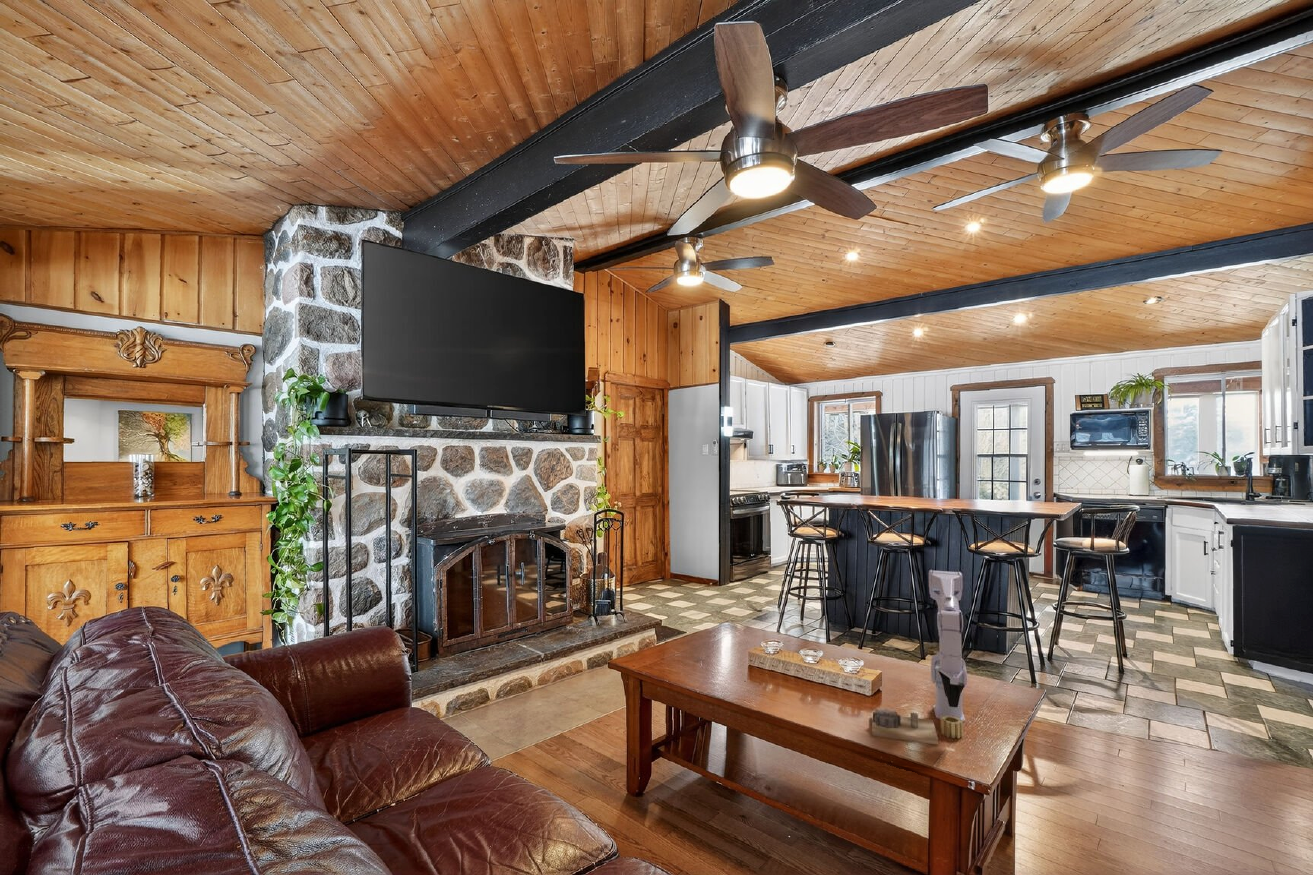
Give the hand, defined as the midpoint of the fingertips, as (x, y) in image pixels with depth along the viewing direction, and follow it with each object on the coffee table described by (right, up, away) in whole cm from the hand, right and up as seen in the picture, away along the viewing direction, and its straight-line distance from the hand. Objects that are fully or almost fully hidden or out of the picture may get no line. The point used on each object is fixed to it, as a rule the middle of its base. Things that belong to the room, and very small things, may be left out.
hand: (951, 701), depth 173 cm
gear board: (-13, -9, +2) cm, 16 cm away
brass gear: (0, -9, 0) cm, 9 cm away
